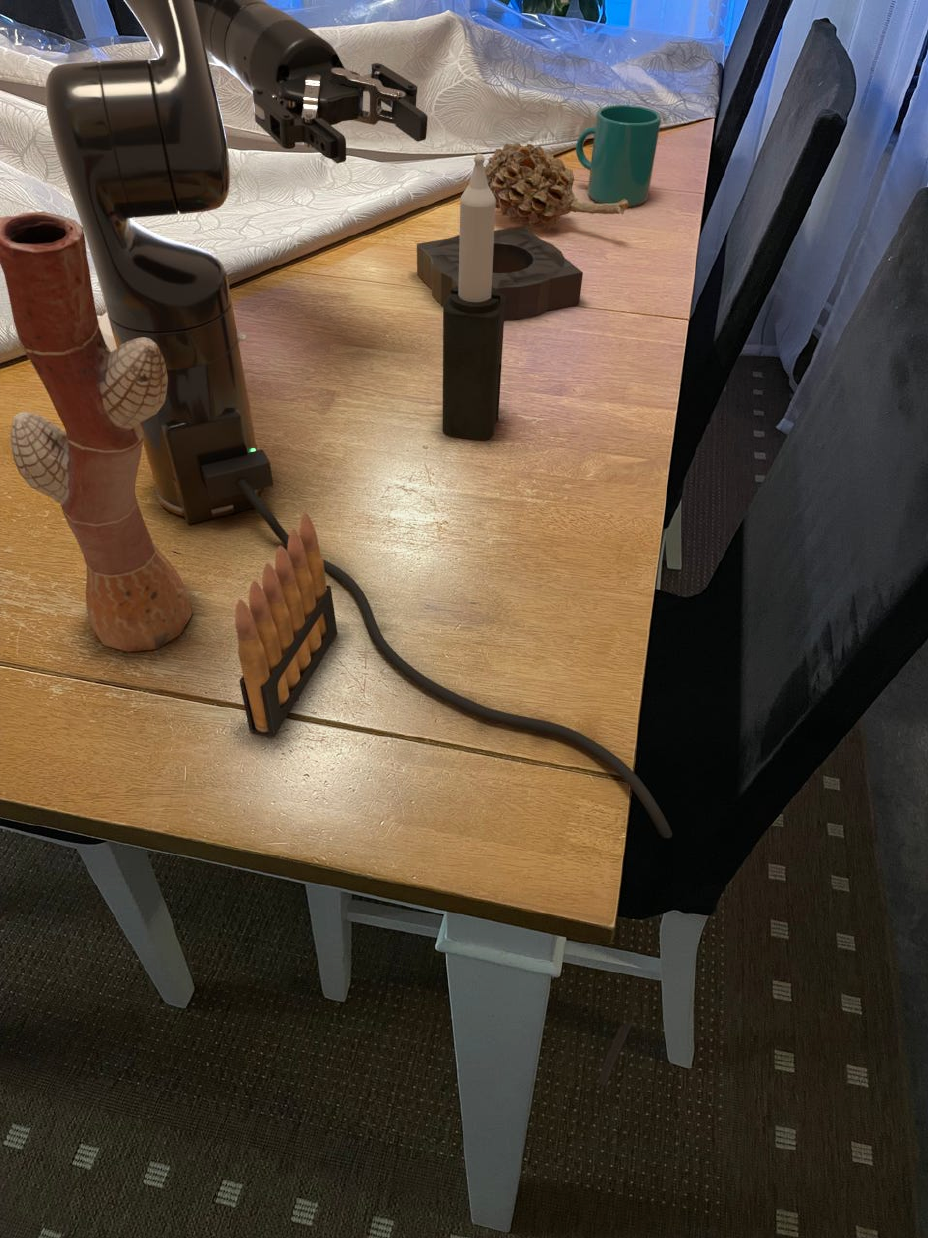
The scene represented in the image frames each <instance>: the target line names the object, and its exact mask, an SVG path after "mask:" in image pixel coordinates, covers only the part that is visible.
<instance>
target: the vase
mask: <svg viewBox="0 0 928 1238" xmlns="http://www.w3.org/2000/svg"><path fill="white" fill-rule="evenodd" d="M86 243H87V242H86V237H85V234H84V231H83V227H82V224H80V223H79V222H77V221H76V220H75V219H72V218H69V217H66V216H63V215H60V214H55V213H51V212H48V211H47V212H46V211H30V212H22V213H20V214H18V215H5V216H1V217H0V267H1V269H2V272H3V276H4V280H5V285H6V288H7V295H8V298H9V304H10V308H11V314H12V319H13V324H14V327H15V330H16V334H17V337H18V341H19V344H20V346H21V348H22V349H23V351H24V353H25V354H26V356H27V358H28V360H29V362H30V363H31V365H32V366H33V368H34V370H35V372H36V374H37V375H38V377H39V379H40V381H41V383H42V385H43V386H44V388H45V390H46V392H47V394H48V396H49V398H50V401H51V403H52V405H53V407H54V409H55V411H56V413H57V416H58V417H59V419H60V421H61V423H62V426H63V427H64V430H65V431H64V430H63V429H61V428H60V427H59V426H58V425H56V424H54V423H53V422H51V421H50V420H48V419H47V418H45V417H43V416H42V415H40V414H36V413H33V412H29V411H27V412H25V411H21V412H20V413H16V415H14V417H13V419H12V423H11V427H10V448H11V455H12V458H13V461H14V464H15V466H16V468H17V471H18V473H19V475H20V476H21V477H22V478H23V480H24V481H25V482H26V484H28V486H29V487H30V488H31V489H34V490H35V491H38V492H39V493H41V494H43V495H46V496H47V497H49V498H51V499H52V500H53V501H55V502H57V503H58V504H59V505H60V506H61V511H62V514H63V516H64V518H65V521H66V523H67V525H68V527H69V528H70V530H71V532H72V534H73V536H74V537H75V539H76V541H77V544H78V546H79V548H80V550H81V553H82V555H83V558H84V563H85V565H86V583H85V584H86V585H85V606H86V612H87V617H88V619H89V620H88V621H89V623H90V626H91V628H92V630H93V632H94V633H95V634H96V636H97V637H98V639H99V641H100V642H101V644H102V645H103V646H105V647H109V648H112V649H117V650H120V651H123V652H127V653H133V652H142V651H152V650H157V649H159V648H161V647H163V646H164V645H166V644H167V643H170V642H171V641H172V640H174V639H176V638H178V637H179V636H180V635H181V634H182V632H183V630H184V629H185V627H186V626H187V623H188V622H189V621H190V618H191V617H192V615H193V612H192V608H191V602H190V599H189V594H188V592H187V589H186V586H185V584H184V581H183V580H182V578H181V576H180V574H179V572H178V571H177V570H176V568H175V567H174V565H173V564H172V563H171V561H170V560H169V559H168V558H167V557H166V556H165V555H164V554H163V553H162V552H161V550H160V549H159V548H158V547H157V545H156V544H155V543H154V542H153V539H152V537H151V534H150V532H149V529H148V527H147V525H146V522H145V520H144V517H143V515H142V512H141V511H142V510H141V509H140V505H139V503H138V498H137V495H136V482H137V476H138V472H139V466H140V462H141V458H142V451H143V445H144V444H143V436H144V435H143V422H142V421H144V420H146V419H148V418H150V417H151V416H153V415H155V414H157V412H158V411H159V410H160V408H161V407H162V405H163V404H164V403H165V398H166V393H167V384H168V376H167V370H166V365H165V360H164V358H163V356H162V353H161V351H160V349H159V348H158V346H157V344H156V343H155V342H154V341H152V340H151V339H149V338H145V337H142V338H137V339H133V340H130V341H128V342H125V343H124V344H122V345H120V346H119V347H118V348H117V349H115V350H114V351H112V352H111V351H110V350H109V348H108V346H107V345H106V343H105V341H104V338H103V335H102V333H101V330H100V327H99V323H98V318H97V316H98V313H97V309H96V304H95V297H94V291H93V285H92V278H91V271H90V265H89V261H88V260H89V259H88V253H87V244H86Z"/></svg>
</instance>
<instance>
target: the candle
mask: <svg viewBox="0 0 928 1238" xmlns="http://www.w3.org/2000/svg"><path fill="white" fill-rule="evenodd" d="M473 160H474V167H473V170H472V173H471V175H470V180H469V182H468V185H467V187H466V188H465V189H464V191H463V193H462V194H461V196H460V200H459V235H460V241H459V286H456V287H455V288H453V289H452V290H451V293H450V294H449V296H448V298H447V301H446V303H445V305H444V306H443V308H442V312H443V313H442V421H441V422H442V425H441V427H442V432H443V434H444V435H446V436H447V437H452V438H458V439H465V440H467V439H468V440H473V441H488V440H490V439H492V438H493V437H494V432H495V430H494V429H495V425H496V423H497V422H498V421H499V413H500V397H501V396H500V395H501V380H502V379H501V378H502V361H503V345H504V328H505V320H504V313H505V296H504V295H503V294H501V293H500V292H499V291H498V290H497V289H495V288H493V287H492V269H493V248H494V231H495V224H496V208H495V205H496V199H495V197H494V195H493V193H492V191H491V190H490V188H489V186H488V182H487V178H486V174H485V169H484V167H485V166H484V164H485V160H486V159H485V156H484V155H483V154H482V153H476V154H475V156H474V158H473Z"/></svg>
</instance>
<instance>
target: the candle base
mask: <svg viewBox="0 0 928 1238" xmlns="http://www.w3.org/2000/svg"><path fill="white" fill-rule="evenodd" d="M459 241H460V234H457V235H455V236H451V237H448V238H443V239H436V240H430V241H425V242H418V243H416V276H417V277H418V278H419V279H420V280H421V281H422V282H423V283H424V284H425V285H426V286H427V287H428V288H429V289H430V290H431V294H432V297H433V298H434V300H436V301H437V302H438V304H439V305H441V306H443V307H444V305H445V303H446V301H447V298H448V296H449V294H450V293H451V290H452V289H453V288H455V287H456V286H459ZM583 275H584V272H583V271H582V270H580V269H579V268H578V267H577V266H575V264H573V263H572V262H571V261H569V260H568V259H567V258H566V257H565V256H564V254H563V252H562V251H561V250H560V248H558V247H556V246H555V245H554V244H552V243H550V242H548V241H546V240H543V239H542V238H540V237H539V236H537V235H536V234H535V233H533V231H532V230H530V229H529V228H527V227H526V226H524V225H521V226H515V227H509V228H503V229H496V230H494V248H493V269H492V287H493V288H495V289H497V290H498V291H499V292H500V293H501V294H503V295H504V296H505V313H504V321H514V320H515V321H518V320H522V319H528V318H533V317H537V316H539V315H541V314H544V313H546V312H549V311H554V310H559V309H563V308H569V307H573V306H574V307H575V306H578V305H580V300H581V292H582V285H583Z"/></svg>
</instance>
